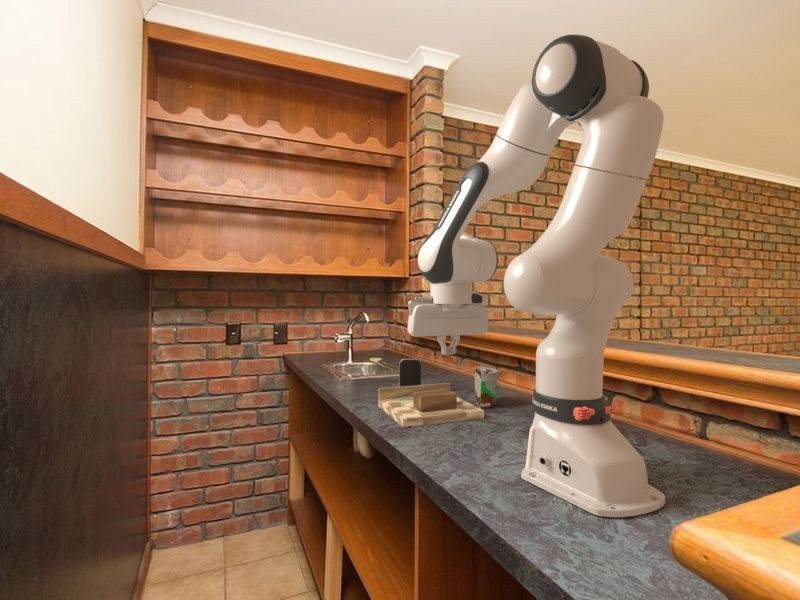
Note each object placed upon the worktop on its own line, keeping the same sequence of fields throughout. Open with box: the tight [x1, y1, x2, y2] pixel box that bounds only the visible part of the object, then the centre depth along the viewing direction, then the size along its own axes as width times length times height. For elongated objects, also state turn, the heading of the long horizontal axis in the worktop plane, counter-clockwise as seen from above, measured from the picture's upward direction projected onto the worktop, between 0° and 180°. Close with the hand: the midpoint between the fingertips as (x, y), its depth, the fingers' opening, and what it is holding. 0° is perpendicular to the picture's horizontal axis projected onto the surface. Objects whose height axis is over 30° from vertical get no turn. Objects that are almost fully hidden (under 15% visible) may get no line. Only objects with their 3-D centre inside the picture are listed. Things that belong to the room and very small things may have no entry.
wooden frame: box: [377, 382, 485, 428], centre depth 113 cm, size 20×22×5 cm
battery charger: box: [398, 357, 422, 387], centre depth 131 cm, size 7×4×11 cm, turn 92°
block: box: [413, 389, 458, 413], centre depth 109 cm, size 5×10×4 cm, turn 110°
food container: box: [473, 366, 500, 410], centre depth 120 cm, size 12×6×10 cm, turn 179°
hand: (448, 354), depth 102 cm, fingers closed
